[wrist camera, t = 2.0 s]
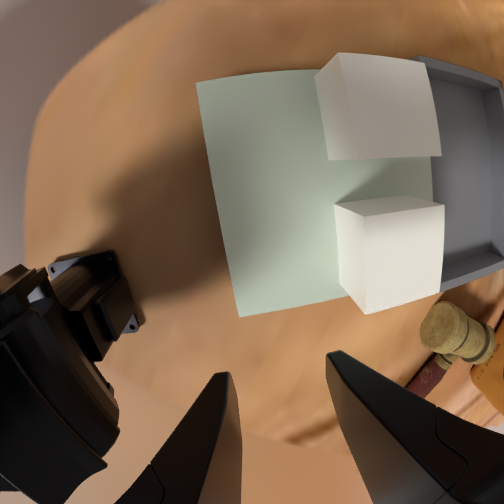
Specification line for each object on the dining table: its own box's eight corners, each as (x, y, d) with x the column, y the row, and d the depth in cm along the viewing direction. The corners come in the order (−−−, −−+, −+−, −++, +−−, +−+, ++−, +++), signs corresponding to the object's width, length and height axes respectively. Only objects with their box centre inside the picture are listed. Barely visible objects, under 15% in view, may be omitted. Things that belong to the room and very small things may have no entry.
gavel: (385, 460, 25) (327, 461, 23) (376, 435, 29) (320, 431, 28) (503, 338, 19) (466, 317, 17) (480, 317, 23) (438, 291, 21)
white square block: (339, 283, 17) (365, 314, 13) (333, 203, 15) (364, 216, 12) (405, 268, 17) (439, 292, 13) (404, 194, 15) (444, 204, 12)
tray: (414, 279, 20) (435, 294, 17) (396, 66, 15) (417, 55, 12) (489, 255, 20) (509, 265, 17) (479, 84, 15) (501, 80, 12)
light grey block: (328, 160, 15) (358, 159, 11) (313, 76, 13) (337, 52, 9) (401, 155, 15) (441, 156, 11) (387, 79, 13) (424, 63, 9)
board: (238, 299, 19) (239, 317, 17) (200, 93, 15) (195, 82, 13) (413, 263, 20) (430, 274, 17) (397, 83, 15) (416, 76, 13)
